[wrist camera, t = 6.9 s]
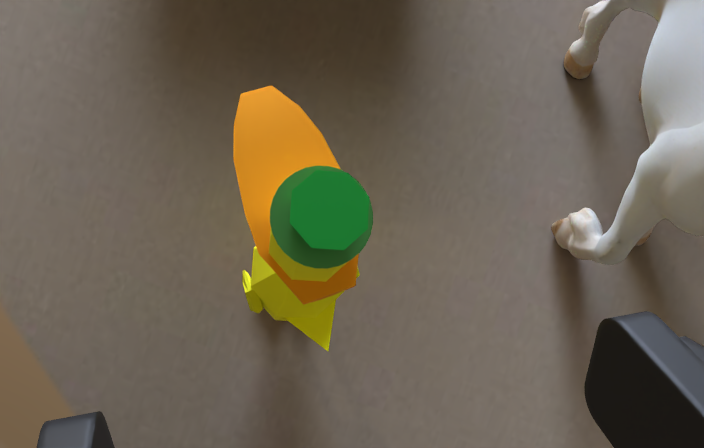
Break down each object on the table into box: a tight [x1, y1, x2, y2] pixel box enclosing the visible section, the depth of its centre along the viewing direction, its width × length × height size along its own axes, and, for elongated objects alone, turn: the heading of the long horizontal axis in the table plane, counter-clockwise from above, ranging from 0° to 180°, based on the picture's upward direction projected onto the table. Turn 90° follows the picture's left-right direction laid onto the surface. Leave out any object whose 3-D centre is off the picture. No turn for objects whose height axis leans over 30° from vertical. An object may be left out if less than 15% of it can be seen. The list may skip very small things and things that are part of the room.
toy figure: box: [233, 85, 373, 351], centre depth 18 cm, size 7×4×12 cm, turn 21°
